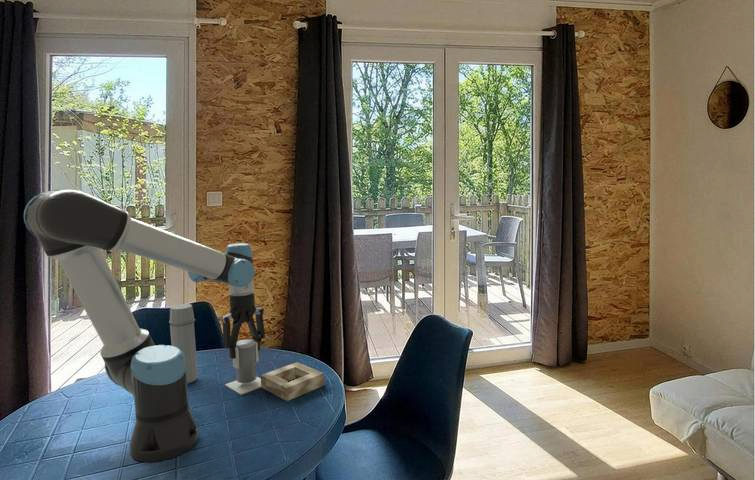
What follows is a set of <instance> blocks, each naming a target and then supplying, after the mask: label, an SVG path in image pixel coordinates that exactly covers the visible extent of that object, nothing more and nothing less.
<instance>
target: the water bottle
mask: <svg viewBox="0 0 755 480" xmlns="http://www.w3.org/2000/svg"><path fill="white" fill-rule="evenodd" d="M194 315H195V314H194V309H193V305H192V304H190V303H180V304H175V305H172V306H170V308H169V321H168V323H169V328H170V329H169V331H170V333H169V334H170V342H171V343H170V344H171V345H170V346H175V347H177V348H179V349H180V350H181V351H182V352H183V353H184V356H185V361H186V366H187V367H186V375H187V385H188V384H191V383H193V382H195V381H196V380H197V379H198V377H199V375H198V362H197V348H196V337H195V336H196V335H195V334H196V333H195V321H196V319H195V316H194Z"/></svg>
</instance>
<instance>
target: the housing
mask: <svg viewBox="0 0 755 480" xmlns="http://www.w3.org/2000/svg"><path fill="white" fill-rule="evenodd" d="M324 375H325V374H324V372H321V371H320V370H317V369H315V368H312V367H310V366H307V365H305V364H302V363H300V362H299V361H298V362H297V361H296V362H294V363H290V364H287V365H286V366H283V367H279V368H276V369H274V370H272V371H268V372H266V373H263V374H260V378H261V388H260V389H264V390H265V391H267V392H269V393H271V394H273V395H275V396H276V397H279V398H280V399H282V400H284V401H286V402H289V401H291V400H293V399H295V398H297V397H300V396H303V395H305V394H307V393H310V392H311V391H315V390H316V389H320V388H321V387H323V386H325V376H324ZM293 379H294V380H293ZM290 380H291V381H290ZM288 381H289V382H288Z"/></svg>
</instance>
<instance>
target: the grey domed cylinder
mask: <svg viewBox="0 0 755 480" xmlns="http://www.w3.org/2000/svg"><path fill="white" fill-rule="evenodd" d="M236 347H237V348H238V351H239V369H236V368H235V371H236V380H237V382H239V383H249V382H252V381H254V380H256V376H257V365H256V364H257V363H256V360H255V342H254V340H253V339H241V340H237V344H236Z"/></svg>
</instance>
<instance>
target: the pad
mask: <svg viewBox="0 0 755 480" xmlns="http://www.w3.org/2000/svg"><path fill="white" fill-rule="evenodd" d="M224 386H225V387H226V388H228V389H230V390H231V391H234V392H235V393H236V394H238V395H240V396H242V395H245V394H247V393H250V392H253V391H255V390H258V389H262V388H261V377H258V376H257V375H256V380H254V381H252V382H249V383H239V382H237V379H236V380H234V381H230V382H228V383H226V384H224Z"/></svg>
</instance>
